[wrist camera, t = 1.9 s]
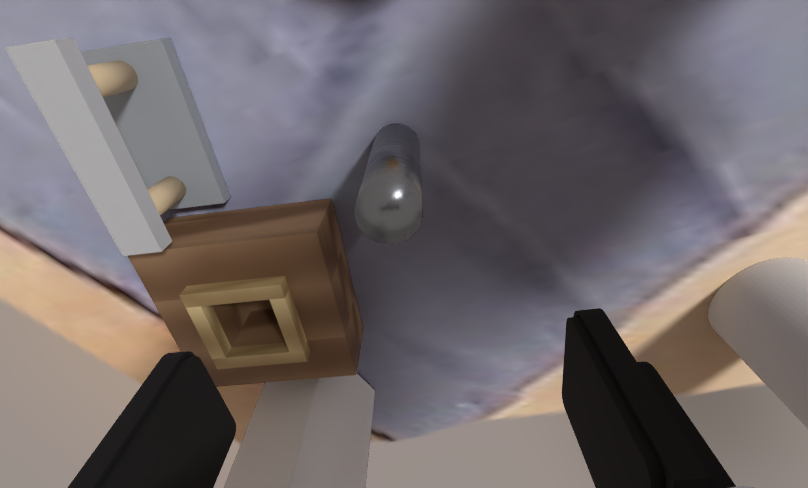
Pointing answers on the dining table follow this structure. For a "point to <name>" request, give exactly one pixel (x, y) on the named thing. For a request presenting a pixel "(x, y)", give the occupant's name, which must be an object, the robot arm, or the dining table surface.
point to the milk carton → (307, 435)
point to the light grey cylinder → (769, 326)
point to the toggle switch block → (258, 293)
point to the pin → (391, 187)
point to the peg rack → (125, 132)
